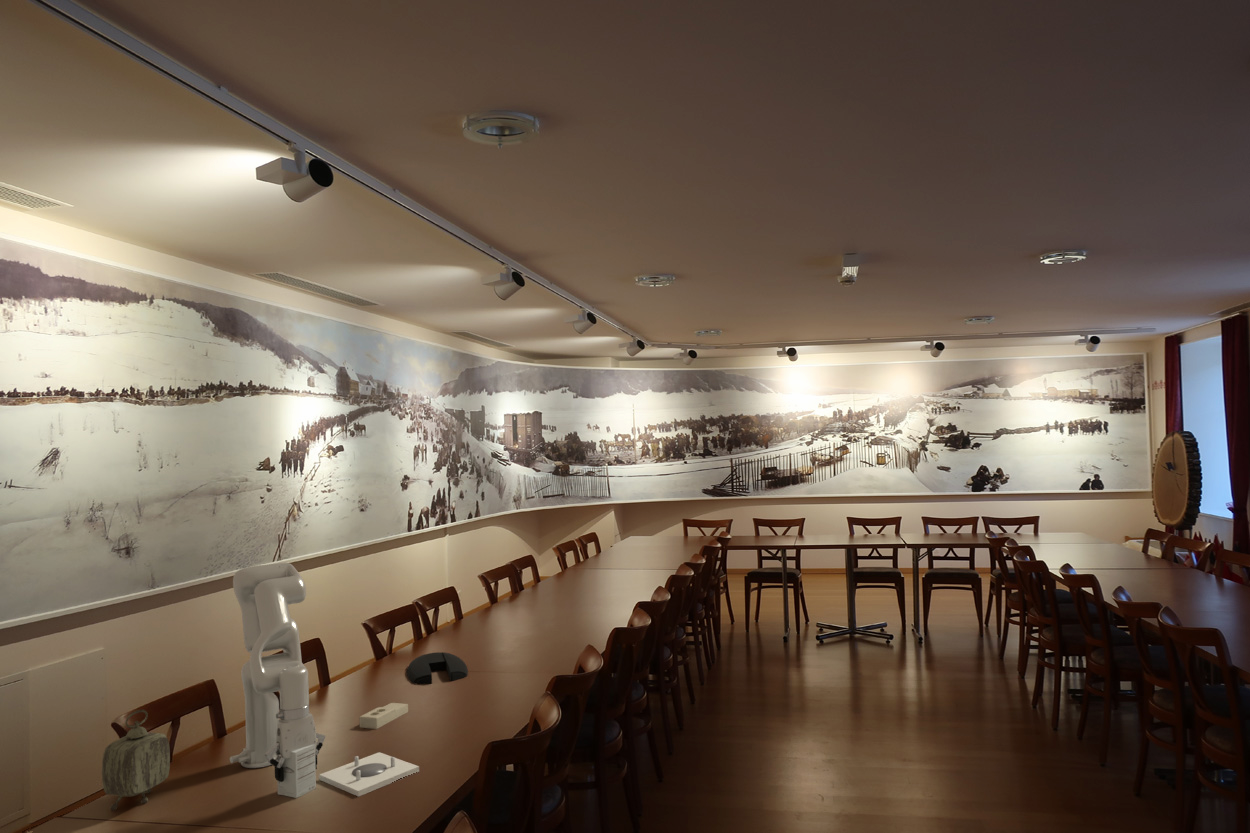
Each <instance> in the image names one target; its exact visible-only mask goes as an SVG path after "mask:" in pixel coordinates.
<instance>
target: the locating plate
mask: <svg viewBox="0 0 1250 833" xmlns="http://www.w3.org/2000/svg"><path fill="white" fill-rule="evenodd" d="M353 758H354V761H352V762H350V763H347V764H344V765H341V766H339V767H338V766H337V767H336V768H332V769H331V770H328V771H325V772H323V773H319V778H318V779H319V781H322V782H323V783H326V784H328V785H330V786H333V787H335V788H338V789H339V790H342V791H345V792H347V793H348V794H352V795H354V796H357V797H361V796H364V795H366V794H368V793H370V792H373V791H375V790H377V789H380V788H383V787H385V786H388V785H391V784H393V783H395V782H397V781H396V780H398V779H400V778H402V779H404V778H403V777H405V776H407V777H409V776H408V775H410V776H412V775H414V774H413V773H415V774H417V773H419V772H420V766H419V765H416V764H414V763H410V762H407V761H405V760H402V759H400V758H397V757H395V756H391V755H388V754H386V753H383V752H376V753H373V754H371V755H368V756H365V757H362V758H360V759H359V755H356V756H354V757H353ZM416 772H417V773H416ZM411 774H412V775H411ZM405 778H406V777H405ZM400 780H401V779H400ZM394 781H395V782H394ZM398 781H399V780H398ZM392 782H393V783H392Z"/></svg>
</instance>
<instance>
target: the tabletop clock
mask: <svg viewBox="0 0 1250 833" xmlns="http://www.w3.org/2000/svg"><path fill="white" fill-rule="evenodd" d="M139 713H143V714H144V715H145V717H144V719H143V720H142V721H139V720H136V721H134V724H133V725H131V724H130V725H129V724H128V721H129V719H130V718H131V717H132V716H134V715H136V714H139ZM148 714H149V713H148V712H147V711H146V710H145V709H139V710H136V711H133V712H131V713H130V714H129V715H128V716H127V717H126V719H125V721H124V724H125V726H126V727H127V728H129V730H128V731H127V733H126V735H125V736H122V737H121V738H119V739H116V740H115V741H113V742H111V743H110V744H108V745H107V746H106V747H105V749H104V752H103V756H102V763H101V764H102V765H101V769H102V770H101V776H102V777H101V778H102V780H101V781H102V787H103V791H104V793H105V795H110V796H111V795H112V796H118V797H117V798H116V801H115V802H114V803H112V804H111V805H110V807H109V808H110V810H111V811H115V810H117V808H118V804H119V803H120V801H121V800H122V798H123V797H130V798H131V797H135V796H138V795H141V796H142V798H141V800H140V802H141V803H142V804H143V803H144V804H147V803H148V802H149V798H148V797H147V796H146V794H149V793H151V791H152V788H154V787H156V786H158V785H160V784H162V783H163V782H164V781H165V780H166V779H168V777H169V774H170V769H171V768H170V767H171V766H170V765H171V764H170V763H171V753H170V752H171V750H170V742H169V738H168V737H167V736H166V733H161V732H160V733H159V732H148V731H147V729H146V728H145V727H144V726H141V725H143V723H145V722H146V721H147V719H148V716H149V715H148ZM130 728H131V729H130Z"/></svg>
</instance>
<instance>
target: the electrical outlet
mask: <svg viewBox="0 0 1250 833" xmlns="http://www.w3.org/2000/svg"><path fill="white" fill-rule="evenodd" d="M407 713H409V704H408V703H401V702H400V703H399V702H398V703H397V702H390V703H388V704H387V705H384V706H378V707H376V708H374V709H372V710H370V711H368V712H366V713H364V714H362V715H360V716H359V728H363V729H364V728H365V729H374V730H377V729H379V728H381V727H383V726H385V725H386V724H388V723H390V722H393V721H394V720H396V719H398V718H400V717H401V716H403V715H404V714H407Z"/></svg>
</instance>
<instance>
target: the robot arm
mask: <svg viewBox="0 0 1250 833" xmlns="http://www.w3.org/2000/svg"><path fill="white" fill-rule="evenodd" d="M232 587H233V592H234V595H235V598H236V600H237V602H238V604H239V606H240V611H241V620H242V632H243V644H244V649H245V651H247V652H248V653H250V655H249V656H250V657H249V660H248V661H246V662H245V663H243V665H242V666H241V671H240V676H241V681H242V687H243V692H244V694H243V695H244V707H245V708H244V712H245V714H244V715H245V741H246V742H245V747H244V748H242V752H240V753H239V754H236V755H235V754H234V755H231V756H230V757H229V762H230V763H231V764H234V763H236V762H238V763H240V765H241V766H242V767H243V768H247V769H248V768H249V769H256V768H257V769H258V768H264V767H269V766H273V767H274V778H275V780H276V781H277V782H278V781H280V782H283V781H284V767H282V764H283V763H284V761H285V759H290V758H291V752H292V751H295V750H298V749H301V748H304V747H307V746H310V745H313V744H315V767H316V770H317V769H318V768H317V765H318V755H319V753H320V750H321V749H322V747H323V746H324V742H325V739H326V735H325V734H322V733H318V732H317V731H316V725H315V720H314V719H315V718H314V716H313V713H311V712H310V697H309V696H310V694H309V692H310V688H309V686H310V685H309V670H308V669H307V667H306V666H305V665H304V663H303V662H302V650H301V642H300V641H301V640H300V631H299V626H298V623H297V622H296V620H295V619H294V618H291V614H290V609H289V605H294V604H300V603H301V604H302V602H304V601H305V599H306V596H307V587H306V584H305V581H304V578H303V577H302V576H301V574H300V572H298V570H297V569H296V567H295V566H294V565H293V564H292V563H290V562H289V563H288V562H281V563H280V562H279V563H270V564H262V565H261V564H260V565H254V566H253V565H252V566H248V567H244V568H240V569H239V570H237V571H236V572H235V573H234V574H233V578H232ZM277 650H282V651H283V652H282V653H276V654H271V655H265V656H262V654H263V653H265V652H271V651H277ZM276 692H279V698H278V696H277V695H276V694H275V693H276ZM278 750H280V752H279V753H278Z"/></svg>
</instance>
